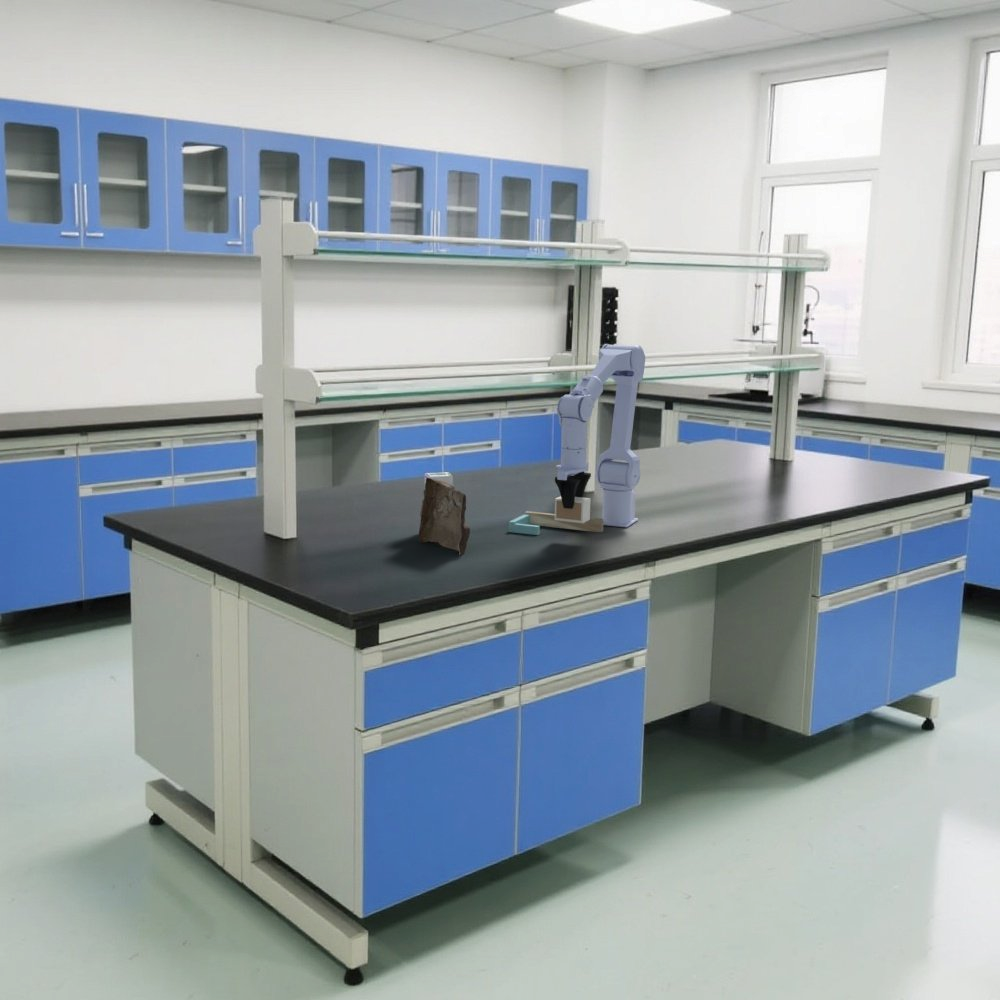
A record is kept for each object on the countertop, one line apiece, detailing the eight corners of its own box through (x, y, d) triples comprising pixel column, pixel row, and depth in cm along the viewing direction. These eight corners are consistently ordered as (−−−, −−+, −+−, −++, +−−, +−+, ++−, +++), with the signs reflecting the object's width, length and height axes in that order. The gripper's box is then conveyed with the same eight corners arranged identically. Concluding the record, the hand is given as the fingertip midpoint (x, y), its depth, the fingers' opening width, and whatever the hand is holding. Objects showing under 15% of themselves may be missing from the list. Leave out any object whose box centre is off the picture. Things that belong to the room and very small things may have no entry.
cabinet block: (561, 516, 259) (562, 495, 258) (589, 519, 256) (590, 498, 255) (554, 520, 255) (554, 498, 254) (582, 523, 252) (583, 501, 251)
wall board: (527, 522, 275) (527, 511, 274) (603, 531, 267) (603, 519, 266) (524, 524, 274) (524, 512, 273) (601, 532, 265) (601, 520, 265)
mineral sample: (418, 542, 254) (418, 477, 251) (432, 540, 257) (433, 475, 254) (459, 557, 241) (460, 489, 238) (474, 555, 243) (475, 487, 240)
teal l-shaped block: (524, 524, 274) (524, 514, 273) (552, 527, 271) (553, 517, 270) (508, 531, 265) (508, 521, 265) (537, 535, 262) (537, 524, 262)
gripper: (568, 442, 260) (567, 498, 263) (545, 450, 247) (544, 510, 250) (597, 444, 257) (595, 501, 260) (574, 453, 244) (573, 513, 247)
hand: (572, 506), depth 255 cm, fingers closed on cabinet block, 5 cm apart
